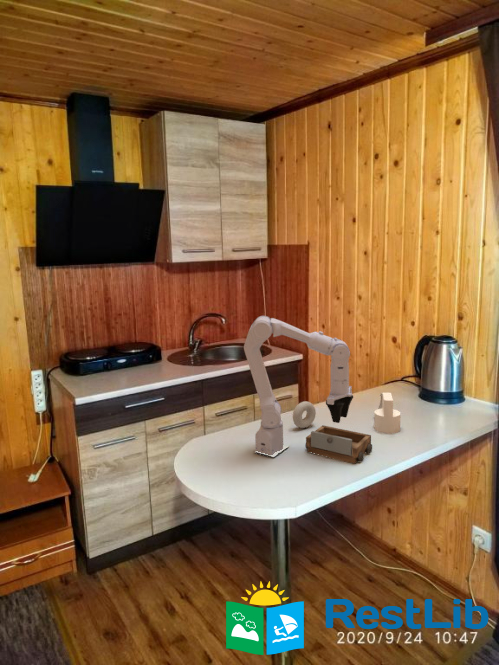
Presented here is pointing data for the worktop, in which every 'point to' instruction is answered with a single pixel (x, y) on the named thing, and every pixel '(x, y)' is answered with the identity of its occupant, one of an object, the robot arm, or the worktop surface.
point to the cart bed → (359, 440)
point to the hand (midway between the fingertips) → (339, 419)
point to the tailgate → (331, 443)
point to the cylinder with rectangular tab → (387, 416)
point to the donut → (299, 411)
